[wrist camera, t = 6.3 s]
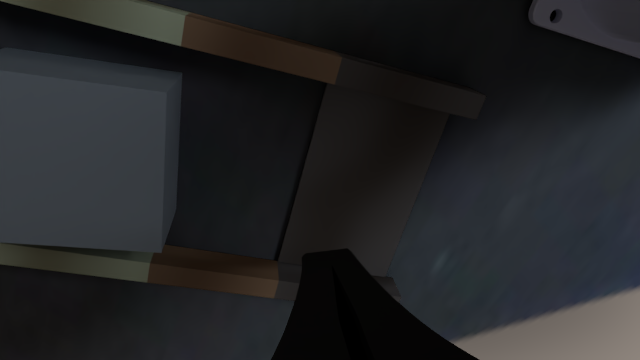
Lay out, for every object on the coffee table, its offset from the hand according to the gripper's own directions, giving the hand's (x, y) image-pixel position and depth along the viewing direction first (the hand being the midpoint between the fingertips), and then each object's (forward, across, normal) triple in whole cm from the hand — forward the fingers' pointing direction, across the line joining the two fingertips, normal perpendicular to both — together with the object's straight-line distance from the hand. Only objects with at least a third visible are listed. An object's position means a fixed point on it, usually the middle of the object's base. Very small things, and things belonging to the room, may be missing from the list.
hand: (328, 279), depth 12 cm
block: (+8, +8, -2) cm, 11 cm away
